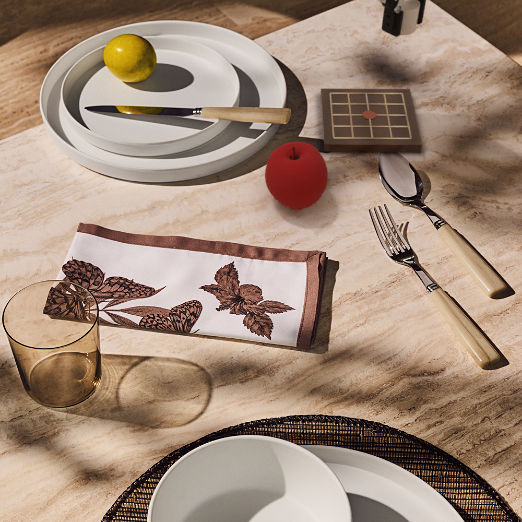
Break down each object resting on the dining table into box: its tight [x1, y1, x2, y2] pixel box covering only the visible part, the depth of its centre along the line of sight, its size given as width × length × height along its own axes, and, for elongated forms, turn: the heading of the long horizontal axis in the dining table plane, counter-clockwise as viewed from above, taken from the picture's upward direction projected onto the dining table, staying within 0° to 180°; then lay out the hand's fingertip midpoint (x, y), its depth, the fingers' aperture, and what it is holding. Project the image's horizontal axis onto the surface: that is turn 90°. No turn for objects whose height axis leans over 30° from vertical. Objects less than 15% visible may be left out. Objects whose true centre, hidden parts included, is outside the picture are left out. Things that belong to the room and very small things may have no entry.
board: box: [320, 88, 423, 153], centre depth 110 cm, size 15×15×2 cm
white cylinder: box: [395, 0, 420, 36], centre depth 102 cm, size 4×4×4 cm
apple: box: [264, 141, 329, 211], centre depth 96 cm, size 9×9×10 cm
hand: (401, 25), depth 104 cm, fingers closed on white cylinder, 4 cm apart
